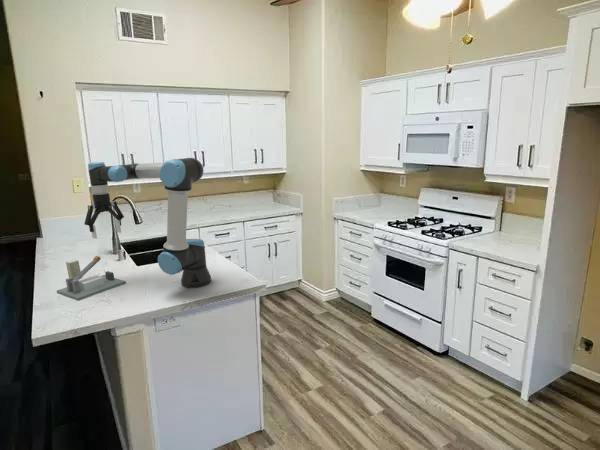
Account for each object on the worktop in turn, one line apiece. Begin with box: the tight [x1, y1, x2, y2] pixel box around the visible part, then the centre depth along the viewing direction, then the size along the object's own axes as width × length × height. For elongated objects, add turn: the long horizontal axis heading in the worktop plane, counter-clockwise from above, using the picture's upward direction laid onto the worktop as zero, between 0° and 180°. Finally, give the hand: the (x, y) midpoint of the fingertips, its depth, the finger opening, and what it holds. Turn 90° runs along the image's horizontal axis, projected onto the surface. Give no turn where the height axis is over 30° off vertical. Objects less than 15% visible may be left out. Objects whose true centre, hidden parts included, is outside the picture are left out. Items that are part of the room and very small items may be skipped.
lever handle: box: [72, 255, 102, 281], centre depth 197 cm, size 3×16×2 cm
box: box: [65, 259, 82, 279], centre depth 211 cm, size 5×4×11 cm
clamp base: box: [56, 270, 127, 301], centre depth 199 cm, size 20×25×8 cm
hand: (107, 235), depth 199 cm, fingers open, 12 cm apart
